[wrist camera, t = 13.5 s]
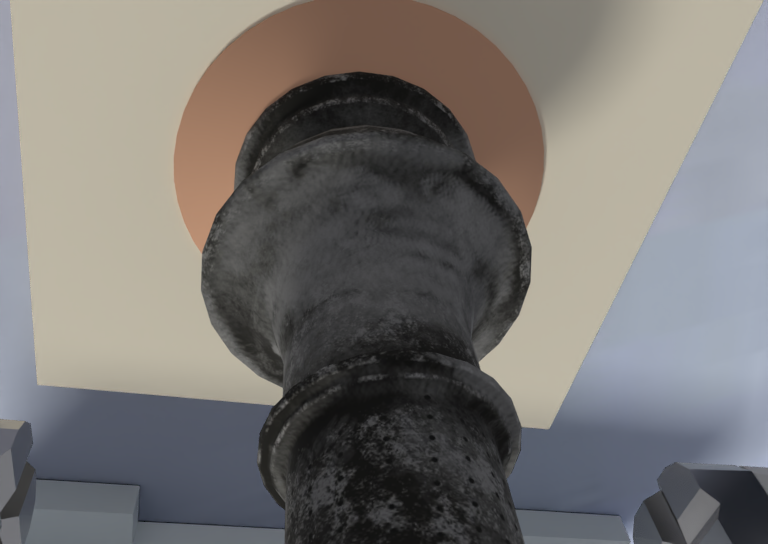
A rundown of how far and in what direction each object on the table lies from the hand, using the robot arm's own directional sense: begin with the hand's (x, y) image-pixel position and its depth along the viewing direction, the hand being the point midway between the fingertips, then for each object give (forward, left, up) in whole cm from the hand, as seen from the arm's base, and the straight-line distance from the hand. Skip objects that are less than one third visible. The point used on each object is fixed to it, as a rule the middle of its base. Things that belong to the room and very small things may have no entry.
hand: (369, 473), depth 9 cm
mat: (0, 0, -9) cm, 9 cm away
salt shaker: (0, 0, -8) cm, 8 cm away
